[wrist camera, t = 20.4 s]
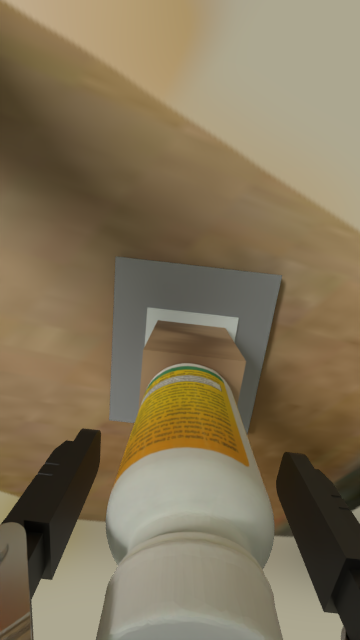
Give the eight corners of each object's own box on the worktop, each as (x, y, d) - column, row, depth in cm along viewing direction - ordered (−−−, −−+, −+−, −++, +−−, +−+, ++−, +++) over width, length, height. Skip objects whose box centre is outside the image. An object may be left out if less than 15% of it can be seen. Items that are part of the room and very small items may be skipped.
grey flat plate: (112, 413, 24) (108, 421, 22) (119, 256, 20) (115, 256, 19) (244, 428, 24) (247, 437, 22) (277, 274, 20) (283, 275, 19)
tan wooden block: (152, 381, 21) (136, 436, 14) (157, 320, 20) (143, 349, 13) (215, 388, 21) (229, 446, 14) (225, 327, 20) (246, 361, 13)
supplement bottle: (248, 411, 14) (377, 717, 4) (176, 450, 15) (159, 775, 5) (200, 342, 13) (239, 552, 3) (126, 388, 14) (-2, 656, 4)
